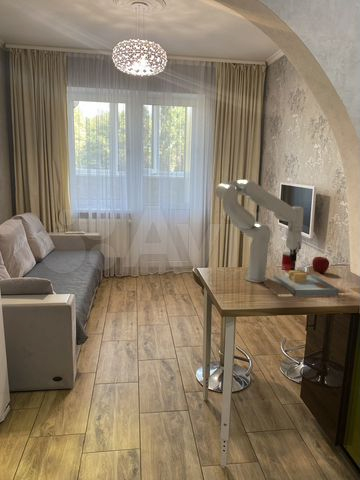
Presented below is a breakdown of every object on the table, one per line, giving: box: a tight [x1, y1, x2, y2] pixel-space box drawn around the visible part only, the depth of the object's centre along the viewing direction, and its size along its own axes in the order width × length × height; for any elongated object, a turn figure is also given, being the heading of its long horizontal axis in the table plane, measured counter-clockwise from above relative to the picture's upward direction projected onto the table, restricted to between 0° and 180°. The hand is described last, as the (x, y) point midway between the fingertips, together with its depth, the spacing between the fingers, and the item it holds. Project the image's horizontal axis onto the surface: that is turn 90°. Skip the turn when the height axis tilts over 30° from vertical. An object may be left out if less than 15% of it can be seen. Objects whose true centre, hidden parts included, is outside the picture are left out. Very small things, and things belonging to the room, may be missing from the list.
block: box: [287, 269, 308, 282], centre depth 199 cm, size 7×7×4 cm
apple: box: [311, 256, 330, 274], centre depth 219 cm, size 10×10×10 cm
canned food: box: [281, 251, 297, 272], centre depth 221 cm, size 8×8×11 cm
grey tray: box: [272, 273, 340, 297], centre depth 192 cm, size 26×23×3 cm
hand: (292, 260), depth 207 cm, fingers closed
